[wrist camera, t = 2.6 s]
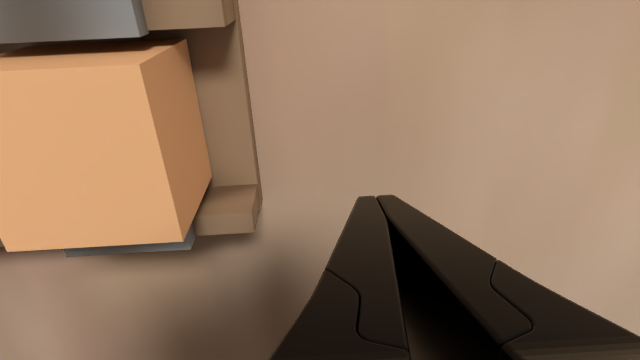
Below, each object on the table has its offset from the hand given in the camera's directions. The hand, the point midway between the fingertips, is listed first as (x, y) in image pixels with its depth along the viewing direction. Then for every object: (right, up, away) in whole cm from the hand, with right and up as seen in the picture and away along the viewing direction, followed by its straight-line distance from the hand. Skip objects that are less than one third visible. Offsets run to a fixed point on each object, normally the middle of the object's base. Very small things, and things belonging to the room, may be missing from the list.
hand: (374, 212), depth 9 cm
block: (-9, +3, +7) cm, 12 cm away
